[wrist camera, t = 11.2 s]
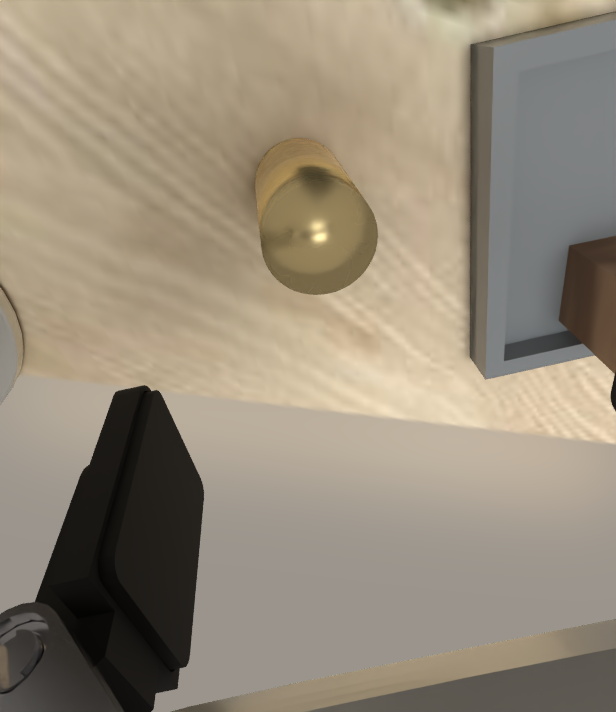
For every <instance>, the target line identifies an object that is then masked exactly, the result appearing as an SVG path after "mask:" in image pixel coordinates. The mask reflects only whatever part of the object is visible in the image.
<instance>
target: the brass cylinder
mask: <svg viewBox="0 0 616 712" xmlns="http://www.w3.org/2000/svg"><path fill="white" fill-rule="evenodd" d="M255 192H256V201H257V210H258V219H259V229H260V238H261V247H262V253H263V257H264V260H265V262H266V265H267V267H268V268H269V270H270V271H271V273H272V274H273V275H274V276H275V278H276V279H277V280H278V281H280V282H281V283H282V284H283V285H285V286H287V287H288V288H290V289H292V290H294V291H297V292H300V293H305V294H313V295H319V294H327V293H332V292H335V291H338V290H340V289H343V288H345V287H346V286H348V285H350V284H351V283H353V282H354V281H355V280H357V279H358V278H359V277H360V276H361V275H362V274H363V272H364V271H365V270H366V269H367V267H368V266H369V264H370V262H371V260H372V258H373V256H374V253H375V250H376V246H377V238H378V233H377V224H376V220H375V217H374V214H373V212H372V210H371V208H370V207H369V205H368V204H367V203H366V201H365V200H364V198H363V197H362V195H361V194H360V193H359V191H358V190H357V188H356V187H355V185H354V184H353V183H352V181H351V180H350V178H349V177H348V175H347V174H346V173H345V171H344V170H343V168H342V167H341V165H340V164H339V163H338V161H337V160H336V158H335V157H334V156H333V154H332V153H331V152H330V151H329V150H328V149H327V148H326V147H325V146H323V145H321V144H320V143H318V142H316V141H313V140H309V139H304V138H295V139H289V140H286V141H283V142H281V143H279V144H277V145H276V146H274V147H273V148H272V149H270V150H269V151H268V152H267V154H266V155H265V156H264V157H263V159H262V160H261V162H260V164H259V166H258V169H257V172H256V177H255Z"/></svg>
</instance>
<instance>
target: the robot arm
mask: <svg viewBox="0 0 616 712" xmlns="http://www.w3.org/2000/svg"><path fill="white" fill-rule="evenodd" d="M23 354H24V353H23V340H22V332H21V329H20V326H19V323H18V320H17V317H16V313H15V312H14V310H13V308H12V306H11V304H10V303H9V301H8V299H7V297H6V295H5V293H4V292H3V290H2V289H1V288H0V404H1V403H2V402H3V400H4V399H5V398H6V396H7V395H8V393H9V392H10V390H11V389H12V387H13V385H14V383H15V381H16V379H17V377H18V375H19V373H20V370H21V365H22V360H23ZM611 402H612V405H613V407H614V409H615V411H616V372H615V376H614V381H613V386H612V390H611ZM203 501H204V490H203V484H202V481H201V478H200V476H199V474H198V472H197V470H196V468H195V466H194V463H193V461H192V459H191V457H190V455H189V453H188V451H187V448H186V446H185V444H184V442H183V440H182V438H181V435H180V433H179V431H178V429H177V427H176V425H175V423H174V421H173V418H172V416H171V414H170V412H169V410H168V408H167V405H166V404H165V401H164V399H163V397H162V395H161V393H160V392H159V391H157V390H155V391H151V390H150V388H149V387H148V386H145V385H144V386H139V387H134V388H130V389H125V390H120V391H117V392H115V394H114V396H113V399H112V402H111V405H110V408H109V410H108V413H107V416H106V419H105V422H104V425H103V428H102V430H101V433H100V436H99V439H98V442H97V445H96V448H95V451H94V453H93V456H92V459H91V462H90V465H88V466H87V467H86V468H85V469H84V470H83V472H82V474H81V476H80V478H79V481H78V484H77V486H76V489H75V492H74V495H73V498H72V500H71V503H70V506H69V509H68V511H67V514H66V517H65V520H64V523H63V525H62V528H61V531H60V534H59V536H58V539H57V542H56V545H55V548H54V550H53V553H52V556H51V559H50V561H49V564H48V567H47V570H46V572H45V575H44V578H43V581H42V584H41V586H40V589H39V592H38V595H37V597H36V600H35V602H32V603H23V604H20V605H18V606H15V607H13V608H10V609H8V610H6V611H4V612H3V613H1V614H0V712H151V711H152V710H153V708H154V701H155V694H156V693H159V692H164V691H169V690H174V689H177V688H178V679H179V669H180V668H183V667H186V666H187V664H188V661H189V656H190V647H191V635H192V625H193V613H194V602H195V591H196V580H197V569H198V557H199V546H200V535H201V524H202V513H203ZM172 712H616V619H613V620H608V621H603V622H598V623H593V624H588V625H583V626H578V627H573V628H568V629H563V630H557V631H552V632H547V633H542V634H537V635H533V636H527V637H522V638H517V639H513V640H507V641H502V642H497V643H492V644H487V645H482V646H477V647H472V648H467V649H462V650H457V651H452V652H447V653H442V654H437V655H432V656H428V657H422V658H417V659H412V660H407V661H402V662H397V663H393V664H388V665H383V666H378V667H373V668H368V669H363V670H358V671H353V672H348V673H343V674H339V675H334V676H328V677H324V678H319V679H314V680H309V681H304V682H299V683H294V684H290V685H285V686H280V687H276V688H271V689H267V690H263V691H258V692H253V693H249V694H245V695H240V696H235V697H231V698H227V699H222V700H217V701H213V702H208V703H204V704H199V705H195V706H191V707H187V708H183V709H179V710H176V711H172Z"/></svg>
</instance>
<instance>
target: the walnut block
mask: <svg viewBox="0 0 616 712" xmlns="http://www.w3.org/2000/svg"><path fill="white" fill-rule="evenodd" d="M559 322H560V323H562V324H563V325H564V326H565V327H566V328H567V329H568V330H569V331H570V332H571V333H572V334H573V335H574V336H575V337H576V338H577V339H578V340H580V341H581V342H582V343H583V344H584V345H585V346H586V347H587V348H588V349H589V350H590V351H591V352H592V353H593V354H594V355H595V356H597V357H598V358H599V359H600V360H601V361H602V362H603V363H604V364H605V365H606V366H607V367H608V368H609V369H610V370H611V371H612V372H613V373H615V372H616V236H612V237H607V238H602V239H598V240H593V241H588V242H583V243H579V244H574V245H569V249H568V257H567V264H566V271H565V278H564V285H563V292H562V299H561V306H560V313H559Z"/></svg>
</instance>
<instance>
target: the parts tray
mask: <svg viewBox="0 0 616 712" xmlns="http://www.w3.org/2000/svg"><path fill="white" fill-rule="evenodd" d="M612 236H616V12H612V13H607V14H603V15H599V16H594V17H590V18H585V19H581V20H577V21H572V22H568V23H564V24H559V25H555V26H550V27H546V28H542V29H537V30H533V31H529V32H524V33H520V34H515V35H511V36H507V37H502V38H498V39H494V40H489V41H485V42H480V43H476V44H472V45H471V261H470V358H471V359H472V361H473V362H474V364H475V365H476V366H477V368H478V369H479V371H480V372H481V374H482V375H483V377H484V378H485V380H486V379H490V378H495V377H499V376H504V375H508V374H513V373H517V372H522V371H526V370H531V369H535V368H540V367H544V366H549V365H553V364H558V363H562V362H567V361H571V360H576V359H580V358H585V357H589V356H594V354H593V353H592V352H591V351H590V350H589V349H588V348H587V347H586V346H585V345H584V344H583V343H582V342H581V341H580V340H578V339H577V338H576V337H575V336H574V335H573V334H572V333H571V332H570V331H569V330H568V329H567V328H566V327H565V326H564V325H563V324H562V323H560V322H559V313H560V306H561V299H562V292H563V285H564V278H565V271H566V264H567V257H568V249H569V245H574V244H579V243H583V242H588V241H593V240H598V239H602V238H607V237H612Z"/></svg>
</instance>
